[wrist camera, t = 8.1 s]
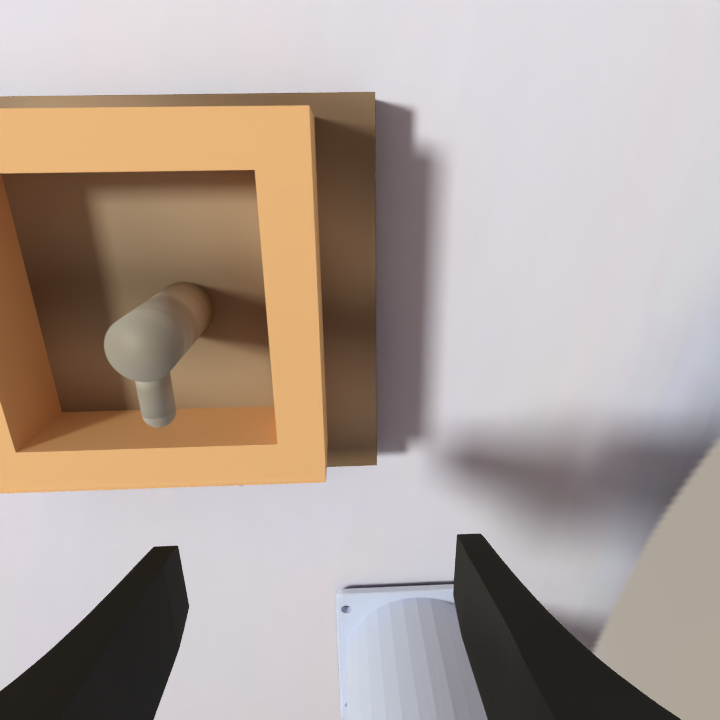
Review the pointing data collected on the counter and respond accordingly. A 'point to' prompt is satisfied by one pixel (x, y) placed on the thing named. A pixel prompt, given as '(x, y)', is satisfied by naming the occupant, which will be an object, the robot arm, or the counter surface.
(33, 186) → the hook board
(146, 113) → the wooden square frame
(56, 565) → the counter surface
